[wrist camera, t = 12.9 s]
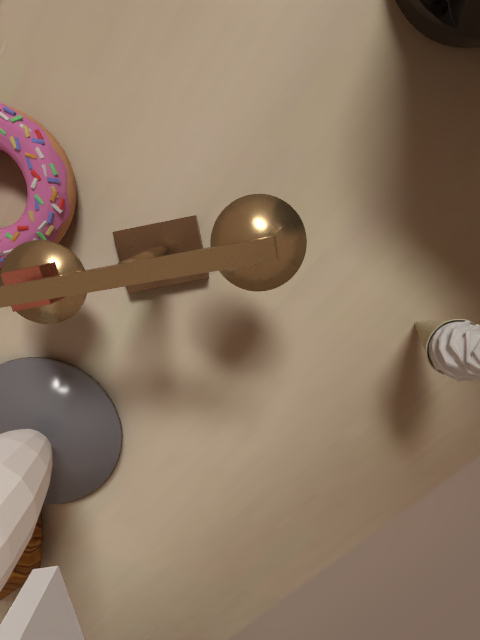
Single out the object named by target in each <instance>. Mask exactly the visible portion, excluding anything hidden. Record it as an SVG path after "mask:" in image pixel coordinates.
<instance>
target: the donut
mask: <svg viewBox="0 0 480 640" xmlns="http://www.w3.org/2000/svg"><path fill="white" fill-rule="evenodd" d="M0 150H2V151H4V152H6V153H7V154H8V155H10V156H11V157H12V158H13V159H14V161H15V162H16V163H17V164H18V166H19V168H20V169H21V171H22V173H23V175H24V178H25V181H26V185H27V195H28V197H27V204H26V207H25V210H24V213H23V214H22V216H21V218H20V219H19V220H18V221H17V222H16V223H14V224H13V225H11V226H9V227H5V228H0V268H2V264H3V262H4V260H5V258H6V257H7V255H8V254H9V253H10V252H11V251H12V250H13V249H14V248H15V247H17V246H18V245H20V244H22V243H25V242H28V241H34V240H49V241H53V242H57V243H59V242H60V240H61V239H62V238H63V237H64V235H65V234H66V232H67V230H68V228H69V226H70V224H71V221H72V218H73V215H74V211H75V205H76V181H75V177H74V173H73V169H72V167H71V164H70V161H69V159H68V157H67V155H66V153H65V151H64V150H63V148H62V147H61V145H60V144H59V143H58V141H57V140H56V139H55V138H54V136H53V135H52V134H51V133H50V132H49V131H48V130H47V129H46V128H45V127H44V126H42V125H41V124H40V123H39V122H37V121H36V120H34V119H33V118H31V117H29V116H28V115H26V114H25V113H23V112H21V111H19V110H16V109H14V108H11V107H8V106H6V105H4V104H2V103H0Z"/></svg>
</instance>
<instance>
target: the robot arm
mask: <svg viewBox="0 0 480 640" xmlns="http://www.w3.org/2000/svg"><path fill="white" fill-rule="evenodd" d="M397 2H398V4H399V6H400V8H401V9H402V11H403V13H404V14H405V16H406V17H407V18H408V20H409V21H410V22H411V23H412V24H413V25H414V26H415V27H416V28H417V29H418V30H419V31H421V32H422V33H423V34H425V35H426V36H428V37H429V38H431V39H433V40H435V41H437V42H440V43H442V44H445V45H449V46H455V47H477V46H480V0H397ZM0 640H84V636H83V633H82V630H81V628H80V625H79V622H78V619H77V616H76V614H75V611H74V608H73V605H72V603H71V600H70V597H69V594H68V591H67V589H66V586H65V583H64V580H63V577H62V575H61V572H60V569H59V566H52V567H45V568H39V569H33V570H32V572H31V573H30V575H29V577H28V578H27V580H26V582H25V584H24V585H23V587H22V589H21V590H20V592H19V594H18V595H17V597H16V599H15V601H14V602H13V604H12V606H11V607H10V609H9V611H8V613H7V614H6V616H5V618H4V619H3V621H2V623H1V625H0Z"/></svg>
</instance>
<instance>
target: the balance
mask: <svg viewBox="0 0 480 640" xmlns="http://www.w3.org/2000/svg"><path fill="white" fill-rule="evenodd" d="M113 236H114V240H115V244H116V247H117V251H118V255H119V259H120V262H119V263H118V264H117V265H112V266H106V267H101V268H95V269H90V270H85V269H84V267H83V265H82V263H81V261H80V260H79V259H78V257H77V256H76V255H75V254H74V253H73V252H72V251H71V250H69V249H68V248H67V247H65V246H63V245H61V244H59V243H57V242H53V241H49V240H34V241H28V242H25V243H22V244H20V245H18V246H17V247H15V248H14V249H13V250H12V251H11V252H10V253H9V254H8V255H7V257H6V258H5V260H4V262H3V264H2V268H1V274H0V282H1V286H0V307H6V306H11V307H12V310H13V312H14V311H16V312H17V313H18V314H20V315H21V316H23V317H24V318H26V319H28V320H31V321H33V322H37V323H42V324H52V323H58V322H61V321H64V320H66V319H67V318H69V317H71V316H72V315H74V314H75V313H76V312H77V311H78V310H79V309H80V308H81V306H82V305H83V303H84V301H85V298H86V295H87V293H89V292H94V291H100V290H106V289H112V288H118V287H124V286H127V290H128V293H133V292H138V291H143V290H149V289H154V288H159V287H164V286H169V285H174V284H179V283H184V282H189V281H195V280H200V279H205V278H209V273H208V272H212V271H218V270H219V271H220V273H221V274H222V275H223V276H224V277H225V278H226V279H227V280H228V281H229V282H231V283H232V284H234V285H235V286H237V287H240V288H242V289H245V290H249V291H267V290H271V289H274V288H277V287H279V286H281V285H283V284H284V283H286V282H287V281H288V280H290V279H291V278H292V277H293V276H294V274H295V273H296V272H297V271H298V269H299V267H300V266H301V264H302V262H303V259H304V256H305V252H306V243H307V240H306V232H305V228H304V225H303V222H302V221H301V219H300V217H299V215H298V214H297V212H296V211H295V210H294V209H293V208H292V207H291V206H290V205H289V204H287V203H286V202H285V201H283V200H281V199H279V198H277V197H274V196H271V195H266V194H252V195H247V196H244V197H241V198H239V199H237V200H235V201H233V202H232V203H231V204H229V205H228V206H227V207H226V208H225V209H224V210H223V211H222V212H221V214H220V215H219V216H218V218H217V220H216V222H215V224H214V227H213V230H212V234H211V247H209V248H204V249H203V245H202V240H201V235H200V231H199V226H198V221H197V217H196V215H195V216H190V217H185V218H180V219H175V220H170V221H165V222H160V223H155V224H150V225H145V226H140V227H135V228H130V229H125V230H121V231H116V232H113Z"/></svg>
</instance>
